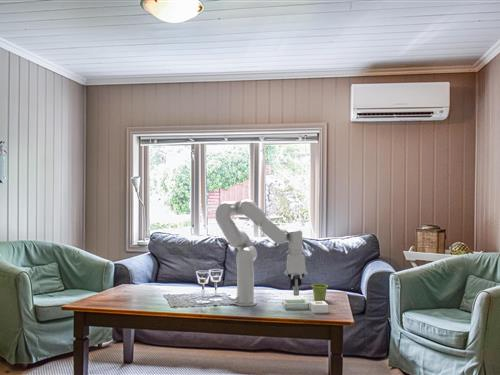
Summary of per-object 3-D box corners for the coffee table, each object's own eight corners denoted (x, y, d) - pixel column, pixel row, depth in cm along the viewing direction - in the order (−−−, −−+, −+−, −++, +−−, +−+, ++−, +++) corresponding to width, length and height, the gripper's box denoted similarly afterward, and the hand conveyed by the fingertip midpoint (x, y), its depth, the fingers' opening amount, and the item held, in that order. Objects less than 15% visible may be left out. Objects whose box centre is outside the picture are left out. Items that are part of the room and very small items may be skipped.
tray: (285, 309, 217) (285, 304, 217) (282, 304, 227) (282, 299, 227) (309, 309, 218) (309, 303, 218) (305, 304, 228) (305, 299, 228)
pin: (293, 296, 220) (292, 275, 221) (291, 294, 225) (291, 274, 225) (300, 295, 221) (300, 275, 221) (299, 294, 225) (299, 274, 225)
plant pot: (327, 302, 232) (327, 287, 233) (311, 301, 234) (311, 286, 234) (327, 298, 241) (327, 284, 242) (311, 298, 243) (311, 283, 244)
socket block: (313, 312, 211) (313, 305, 211) (309, 308, 219) (309, 301, 219) (328, 312, 212) (328, 304, 212) (324, 308, 220) (324, 301, 220)
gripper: (282, 253, 219) (282, 287, 218) (311, 252, 220) (312, 287, 220) (279, 251, 227) (280, 285, 226) (308, 251, 228) (309, 284, 227)
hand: (296, 285), depth 223 cm, fingers closed on pin, 3 cm apart
